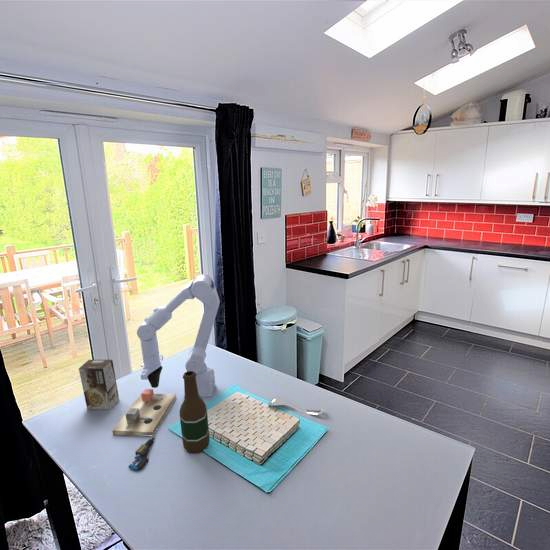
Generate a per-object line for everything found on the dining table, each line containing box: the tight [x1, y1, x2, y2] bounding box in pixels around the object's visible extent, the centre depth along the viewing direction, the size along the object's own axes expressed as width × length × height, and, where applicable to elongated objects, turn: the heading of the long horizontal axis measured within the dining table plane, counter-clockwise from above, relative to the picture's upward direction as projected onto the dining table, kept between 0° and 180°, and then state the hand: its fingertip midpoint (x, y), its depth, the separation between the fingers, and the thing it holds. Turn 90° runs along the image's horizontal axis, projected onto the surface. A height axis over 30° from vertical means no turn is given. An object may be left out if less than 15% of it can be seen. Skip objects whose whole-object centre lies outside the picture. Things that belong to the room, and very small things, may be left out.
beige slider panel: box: [112, 393, 177, 436], centre depth 121 cm, size 13×20×5 cm, turn 174°
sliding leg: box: [140, 388, 163, 402], centre depth 127 cm, size 7×3×3 cm, turn 84°
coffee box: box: [78, 359, 120, 410], centre depth 127 cm, size 9×6×16 cm
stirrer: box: [268, 396, 326, 416], centre depth 122 cm, size 20×4×5 cm
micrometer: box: [127, 436, 155, 472], centre depth 104 cm, size 12×2×5 cm
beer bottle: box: [179, 371, 210, 455], centre depth 104 cm, size 8×8×24 cm
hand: (155, 386), depth 133 cm, fingers closed
